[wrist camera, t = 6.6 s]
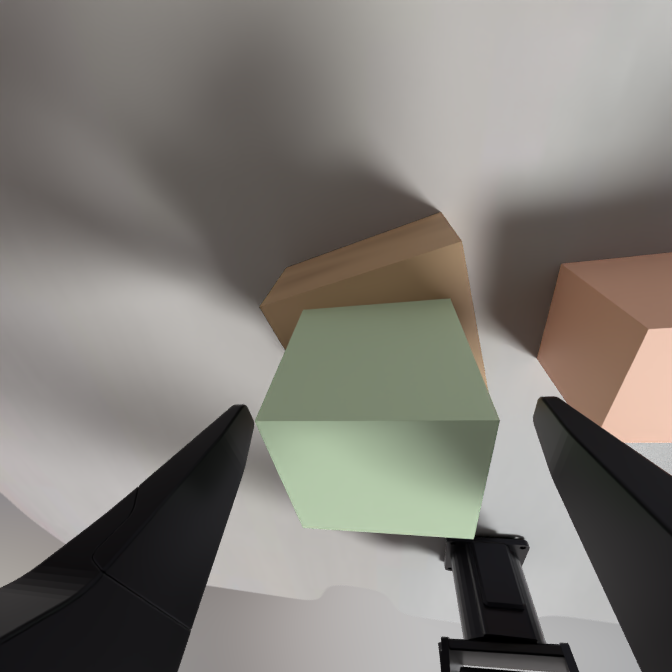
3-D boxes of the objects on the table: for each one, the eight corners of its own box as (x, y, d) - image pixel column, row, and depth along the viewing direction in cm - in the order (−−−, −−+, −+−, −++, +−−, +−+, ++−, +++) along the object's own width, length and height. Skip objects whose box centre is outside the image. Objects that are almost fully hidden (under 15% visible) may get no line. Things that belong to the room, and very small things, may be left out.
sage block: (443, 405, 12) (473, 538, 8) (326, 406, 13) (303, 527, 9) (450, 298, 10) (499, 420, 6) (303, 309, 11) (255, 420, 7)
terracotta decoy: (653, 351, 14) (764, 442, 10) (536, 357, 15) (593, 442, 11) (707, 247, 11) (890, 314, 7) (560, 263, 12) (648, 329, 8)
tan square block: (467, 345, 15) (490, 404, 12) (341, 373, 18) (332, 429, 14) (439, 210, 12) (461, 241, 9) (287, 265, 14) (259, 307, 11)
